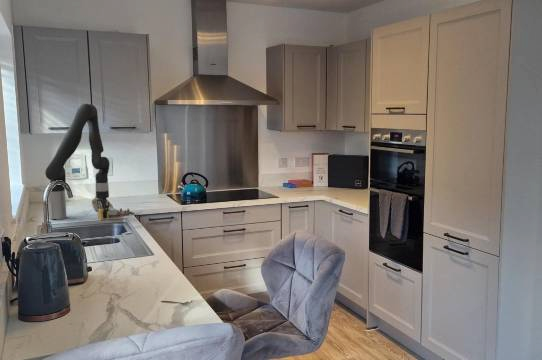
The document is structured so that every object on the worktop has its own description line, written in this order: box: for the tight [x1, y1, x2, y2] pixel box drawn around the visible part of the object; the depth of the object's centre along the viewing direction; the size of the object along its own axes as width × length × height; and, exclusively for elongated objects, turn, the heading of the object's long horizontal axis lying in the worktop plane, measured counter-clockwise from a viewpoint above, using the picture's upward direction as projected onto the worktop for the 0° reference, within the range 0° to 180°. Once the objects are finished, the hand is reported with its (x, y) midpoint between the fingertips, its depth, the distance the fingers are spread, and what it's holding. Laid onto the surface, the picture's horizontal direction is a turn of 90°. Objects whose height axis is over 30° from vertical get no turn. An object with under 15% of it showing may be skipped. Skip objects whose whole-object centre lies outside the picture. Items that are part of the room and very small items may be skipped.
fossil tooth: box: [91, 195, 114, 212], centre depth 327 cm, size 12×6×15 cm
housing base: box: [108, 208, 134, 219], centre depth 317 cm, size 16×10×3 cm, turn 129°
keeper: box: [108, 207, 118, 215], centre depth 314 cm, size 4×10×3 cm, turn 39°
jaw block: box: [97, 209, 110, 221], centre depth 306 cm, size 5×5×6 cm
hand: (103, 217), depth 306 cm, fingers closed on jaw block, 4 cm apart
